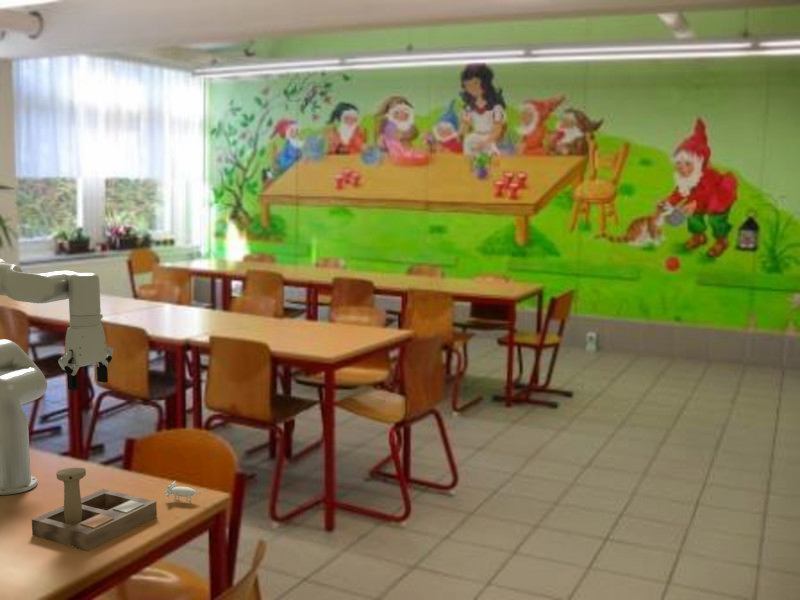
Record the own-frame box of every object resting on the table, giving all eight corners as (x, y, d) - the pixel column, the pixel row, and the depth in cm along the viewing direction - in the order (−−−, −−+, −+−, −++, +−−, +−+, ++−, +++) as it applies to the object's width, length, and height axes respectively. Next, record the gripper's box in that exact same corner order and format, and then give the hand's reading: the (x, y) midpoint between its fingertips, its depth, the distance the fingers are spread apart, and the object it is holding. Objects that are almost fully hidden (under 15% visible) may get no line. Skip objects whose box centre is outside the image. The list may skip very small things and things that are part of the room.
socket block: (32, 535, 193) (31, 518, 193) (103, 503, 213) (103, 487, 212) (87, 551, 185) (86, 533, 185) (156, 516, 205) (156, 500, 204)
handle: (87, 534, 194) (85, 473, 192) (58, 537, 192) (55, 476, 190) (88, 526, 199) (86, 466, 197) (60, 529, 197) (57, 469, 195)
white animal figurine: (160, 503, 213) (160, 486, 213) (170, 496, 219) (170, 479, 218) (202, 508, 211) (202, 490, 210) (212, 500, 216) (211, 483, 215)
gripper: (100, 315, 220) (103, 377, 222) (47, 324, 205) (50, 391, 207) (121, 317, 217) (123, 380, 219) (68, 327, 201) (72, 394, 204)
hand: (88, 385), depth 213 cm, fingers open, 9 cm apart
